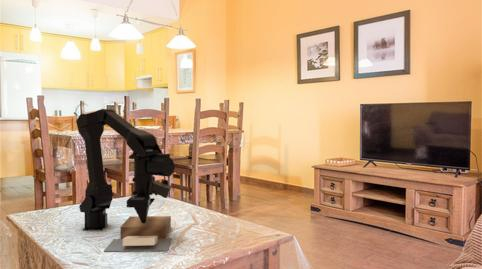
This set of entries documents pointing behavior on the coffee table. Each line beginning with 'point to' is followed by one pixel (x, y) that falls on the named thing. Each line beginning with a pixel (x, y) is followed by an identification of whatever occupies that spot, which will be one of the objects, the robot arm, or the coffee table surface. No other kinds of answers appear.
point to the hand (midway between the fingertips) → (143, 222)
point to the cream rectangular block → (139, 240)
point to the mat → (118, 246)
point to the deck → (146, 226)
